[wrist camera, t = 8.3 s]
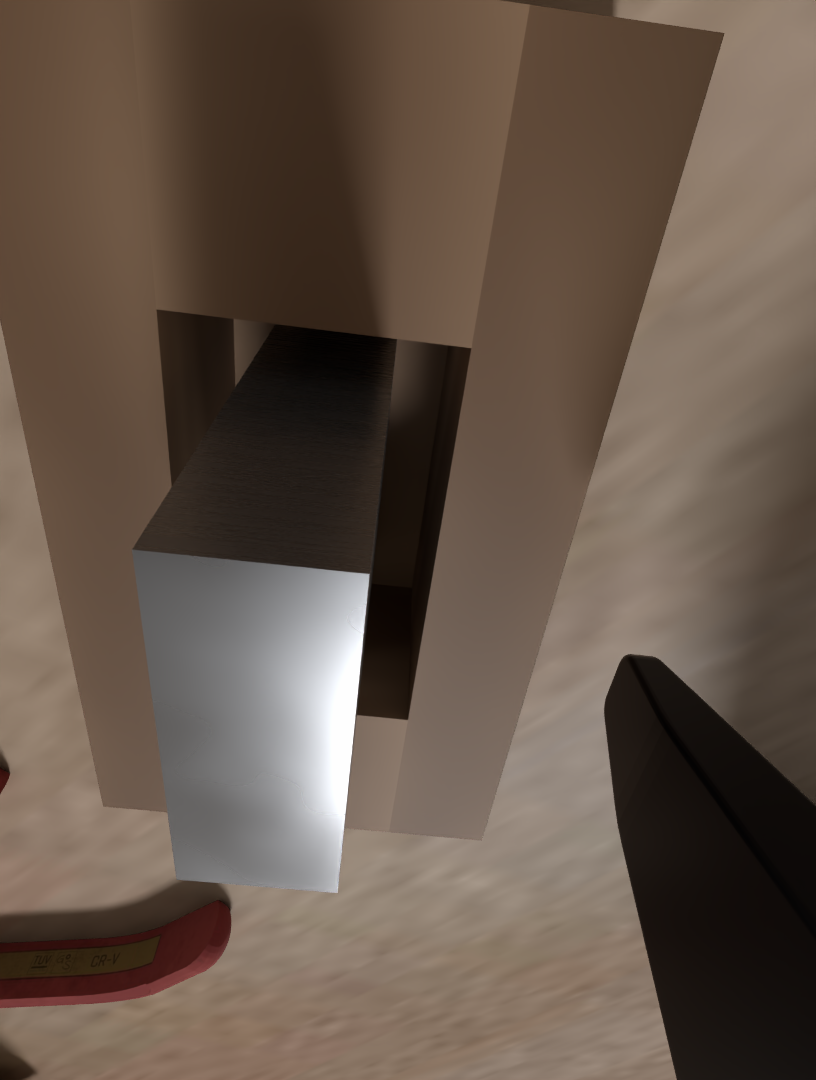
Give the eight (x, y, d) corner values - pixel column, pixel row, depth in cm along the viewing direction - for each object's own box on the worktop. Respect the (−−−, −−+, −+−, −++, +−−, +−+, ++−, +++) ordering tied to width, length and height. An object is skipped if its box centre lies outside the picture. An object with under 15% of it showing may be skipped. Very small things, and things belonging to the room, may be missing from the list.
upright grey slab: (400, 314, 12) (369, 574, 6) (376, 540, 15) (337, 892, 9) (290, 300, 12) (131, 549, 6) (286, 530, 15) (176, 880, 8)
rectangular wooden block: (612, 53, 11) (723, 33, 7) (469, 673, 19) (481, 840, 15) (113, -19, 11) (-86, -85, 7) (176, 643, 18) (103, 806, 14)
